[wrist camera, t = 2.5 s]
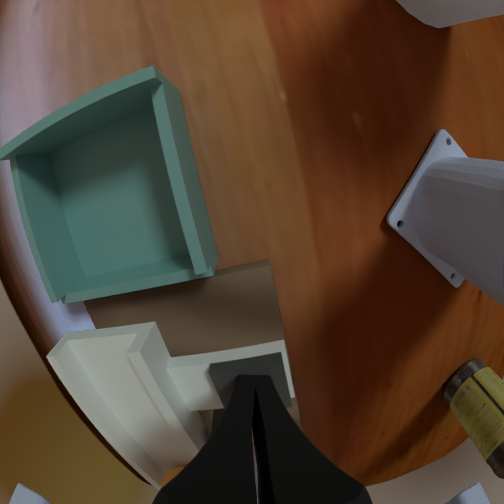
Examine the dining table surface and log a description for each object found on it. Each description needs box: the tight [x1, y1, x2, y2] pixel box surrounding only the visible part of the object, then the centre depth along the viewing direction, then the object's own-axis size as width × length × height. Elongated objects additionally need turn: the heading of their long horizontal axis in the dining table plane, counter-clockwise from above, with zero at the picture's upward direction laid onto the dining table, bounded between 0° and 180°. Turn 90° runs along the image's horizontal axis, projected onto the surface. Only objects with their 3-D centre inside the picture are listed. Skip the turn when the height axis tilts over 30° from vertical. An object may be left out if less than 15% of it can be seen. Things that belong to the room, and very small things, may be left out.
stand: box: [84, 259, 303, 453], centre depth 16 cm, size 17×13×8 cm
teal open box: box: [0, 65, 219, 304], centre depth 13 cm, size 10×10×5 cm
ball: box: [162, 466, 185, 487], centre depth 13 cm, size 3×3×3 cm
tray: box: [46, 322, 295, 491], centre depth 14 cm, size 16×11×5 cm, turn 12°
